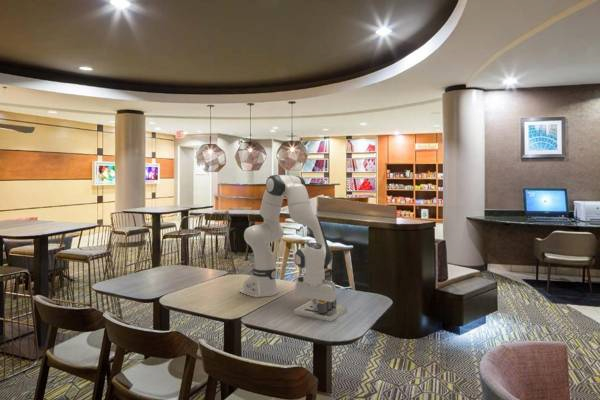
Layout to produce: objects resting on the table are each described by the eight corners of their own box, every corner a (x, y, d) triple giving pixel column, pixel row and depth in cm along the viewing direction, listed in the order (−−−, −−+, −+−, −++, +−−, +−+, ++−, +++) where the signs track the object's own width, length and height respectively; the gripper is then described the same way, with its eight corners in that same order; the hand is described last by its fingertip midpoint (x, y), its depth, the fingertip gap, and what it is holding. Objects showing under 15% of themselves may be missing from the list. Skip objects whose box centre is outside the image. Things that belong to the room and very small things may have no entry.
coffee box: (323, 303, 194) (322, 272, 193) (312, 301, 198) (312, 270, 197) (332, 298, 202) (332, 268, 201) (322, 296, 205) (322, 267, 205)
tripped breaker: (317, 312, 174) (317, 301, 174) (321, 310, 177) (321, 299, 177) (323, 313, 173) (323, 302, 172) (327, 311, 176) (327, 300, 175)
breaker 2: (327, 305, 183) (327, 296, 183) (330, 303, 186) (330, 294, 186) (332, 306, 181) (332, 297, 181) (336, 304, 184) (336, 295, 184)
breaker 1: (322, 309, 179) (322, 298, 178) (326, 306, 182) (325, 296, 181) (328, 310, 177) (327, 299, 177) (331, 307, 180) (331, 297, 180)
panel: (293, 313, 180) (293, 309, 180) (311, 304, 193) (310, 300, 193) (331, 321, 169) (331, 316, 169) (346, 310, 183) (346, 306, 183)
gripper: (338, 279, 173) (338, 309, 174) (300, 274, 184) (300, 302, 185) (332, 283, 168) (332, 314, 168) (293, 277, 179) (293, 306, 179)
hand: (315, 308), depth 177 cm, fingers closed
